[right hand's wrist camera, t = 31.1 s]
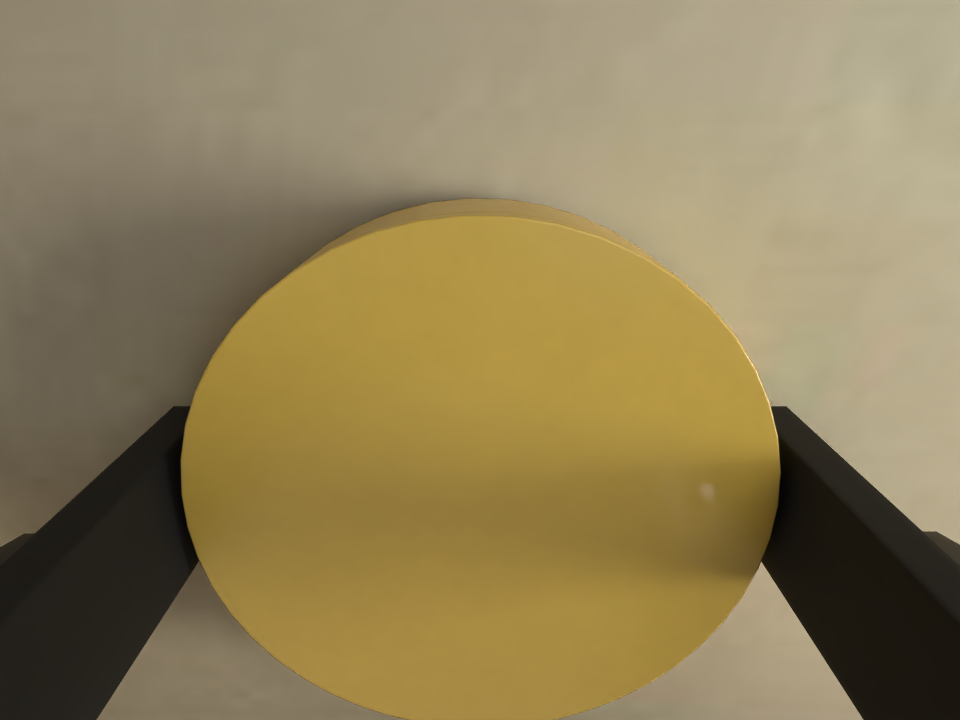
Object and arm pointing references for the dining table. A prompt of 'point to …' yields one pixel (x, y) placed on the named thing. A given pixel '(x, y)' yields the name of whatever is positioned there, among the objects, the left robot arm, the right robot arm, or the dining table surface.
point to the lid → (480, 465)
